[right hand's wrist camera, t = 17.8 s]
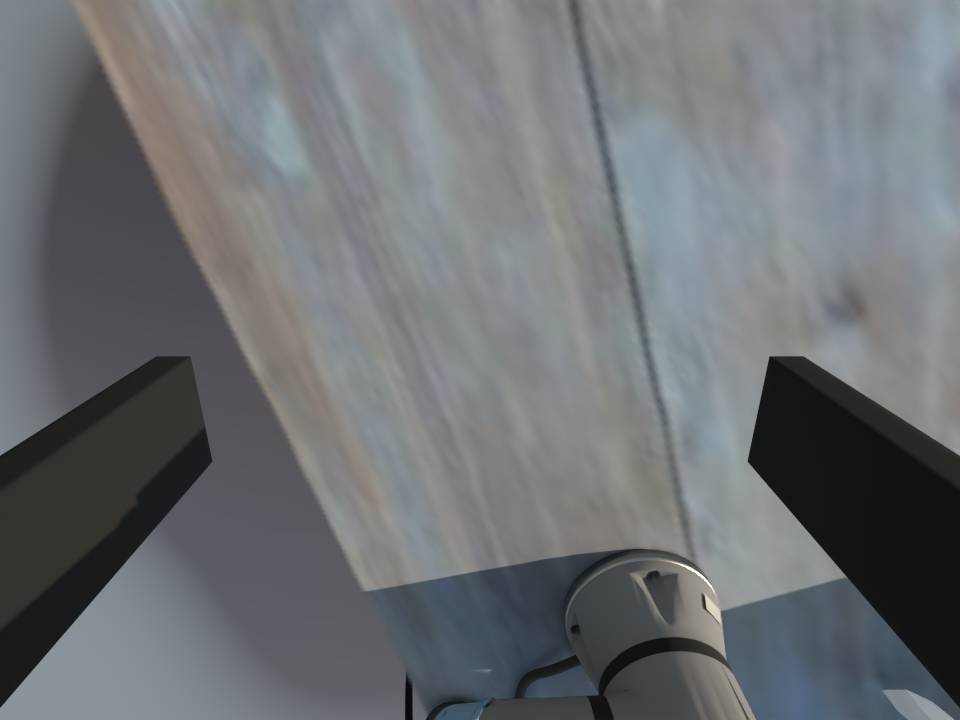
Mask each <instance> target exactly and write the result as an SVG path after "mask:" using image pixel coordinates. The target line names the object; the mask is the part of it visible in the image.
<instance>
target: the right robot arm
mask: <svg viewBox="0 0 960 720" xmlns="http://www.w3.org/2000/svg"><path fill="white" fill-rule="evenodd" d="M211 463H212V457H211V453H210V448H209V443H208V438H207V433H206V429H205V424H204V419H203V414H202V410H201V405H200V400H199V395H198V391H197V386H196V381H195V376H194V371H193V367H192V362H191V357H190V356H187V357H186V356H184V357H183V356H173V357H172V356H164V357H163V356H159V357H158V356H157V357H155V358H153V359H152V360H150V361H149V362H147V363H146V364H144V365H142V366H141V367H139V368H138V369H136V370H135V371H133V372H131V373H130V374H128V375H127V376H125V377H124V378H122V379H120V380H119V381H117V382H116V383H114V384H112V385H111V386H109V387H108V388H106V389H105V390H103V391H101V392H100V393H98V394H97V395H95V396H94V397H92V398H90V399H89V400H87V401H86V402H84V403H83V404H81V405H80V406H78V407H76V408H75V409H73V410H72V411H70V412H68V413H67V414H65V415H64V416H62V417H61V418H59V419H57V420H56V421H54V422H53V423H51V424H50V425H48V426H46V427H45V428H43V429H42V430H40V431H39V432H37V433H35V434H34V435H32V436H31V437H29V438H28V439H26V440H24V441H23V442H21V443H20V444H18V445H17V446H15V447H13V448H12V449H10V450H9V451H7V452H6V453H4V454H2V455H1V456H0V707H1V706H2V705H3V704H4V703H5V702H6V700H7V699H8V698H9V697H10V696H11V695H12V693H13V692H14V691H15V690H16V689H17V688H18V686H19V685H20V684H21V683H22V682H23V681H24V680H25V678H26V677H27V676H28V675H29V674H30V673H31V671H32V670H33V669H34V668H35V667H36V666H37V664H38V663H39V662H40V661H41V660H42V659H43V657H44V656H45V655H46V654H47V653H48V652H49V651H50V649H51V648H52V647H53V646H54V645H55V644H56V642H57V641H58V640H59V639H60V638H61V637H62V635H63V634H64V633H65V632H66V631H67V630H68V628H69V627H70V626H71V625H72V624H73V623H74V622H75V620H76V619H77V618H78V617H79V616H80V615H81V613H82V612H83V611H84V610H85V609H86V608H87V606H88V605H89V604H90V603H91V602H92V601H93V599H94V598H95V597H96V596H97V595H98V594H99V593H100V591H101V590H102V589H103V588H104V587H105V585H106V584H107V583H108V582H109V581H110V580H111V579H112V577H113V576H114V575H115V574H116V573H117V572H118V570H119V569H120V568H121V567H122V566H123V565H124V563H125V562H126V561H127V560H128V559H129V558H130V556H131V555H132V554H133V553H134V552H135V551H136V549H137V548H138V547H139V546H140V545H141V544H142V543H143V541H144V540H145V539H146V538H147V537H148V536H149V534H150V533H151V532H152V531H153V530H154V529H155V528H156V526H157V525H158V524H159V523H160V522H161V521H162V519H163V518H164V517H165V516H166V515H167V514H168V512H169V511H170V510H171V509H172V508H173V507H174V505H175V504H176V503H177V502H178V501H179V500H180V499H181V497H182V496H183V495H184V494H185V493H186V492H187V490H188V489H189V488H190V487H191V486H192V485H193V483H194V482H195V481H196V480H197V479H198V478H199V476H200V475H201V474H202V473H203V472H204V471H205V470H206V468H207V467H208V466H209V465H210V464H211ZM748 463H749V464H750V465H751V466H752V467H753V468H754V470H755V471H756V472H757V473H758V474H759V475H760V476H761V478H762V479H763V480H764V481H765V482H766V483H767V485H768V486H769V487H770V488H771V489H772V490H773V492H774V493H775V494H776V495H777V496H778V497H779V499H780V500H781V501H782V502H783V503H784V504H785V505H786V507H787V508H788V509H789V510H790V511H791V512H792V514H793V515H794V516H795V517H796V518H797V519H798V521H799V522H800V523H801V524H802V525H803V526H804V528H805V529H806V530H807V531H808V532H809V533H810V534H811V536H812V537H813V538H814V539H815V540H816V541H817V543H818V544H819V545H820V546H821V547H822V548H823V550H824V551H825V552H826V553H827V554H828V555H829V557H830V558H831V559H832V560H833V561H834V562H835V564H836V565H837V566H838V567H839V568H840V569H841V570H842V572H843V573H844V574H845V575H846V576H847V577H848V579H849V580H850V581H851V582H852V583H853V584H854V586H855V587H856V588H857V589H858V590H859V591H860V593H861V594H862V595H863V596H864V597H865V598H866V599H867V601H868V602H869V603H870V604H871V605H872V606H873V608H874V609H875V610H876V611H877V612H878V613H879V615H880V616H881V617H882V618H883V619H884V620H885V622H886V623H887V624H888V625H889V626H890V627H891V628H892V630H893V631H894V632H895V633H896V634H897V635H898V637H899V638H900V639H901V640H902V641H903V642H904V644H905V645H906V646H907V647H908V648H909V649H910V651H911V652H912V653H913V654H914V655H915V656H916V657H917V659H918V660H919V661H920V662H921V663H922V664H923V666H924V667H925V668H926V669H927V670H928V671H929V673H930V674H931V675H932V676H933V677H934V678H935V680H936V681H937V682H938V683H939V684H940V685H941V687H942V688H943V689H944V690H945V691H946V692H947V693H948V695H949V696H950V697H951V698H952V699H953V700H954V702H955V703H956V704H957V705H958V706H959V707H960V456H959V455H958V454H956V453H955V452H953V451H951V450H950V449H948V448H947V447H945V446H943V445H942V444H940V443H939V442H937V441H936V440H934V439H932V438H931V437H929V436H928V435H926V434H925V433H923V432H921V431H920V430H918V429H917V428H915V427H914V426H912V425H910V424H909V423H907V422H906V421H904V420H903V419H901V418H899V417H898V416H896V415H895V414H893V413H892V412H890V411H888V410H887V409H885V408H884V407H882V406H881V405H879V404H877V403H876V402H874V401H873V400H871V399H870V398H868V397H866V396H865V395H863V394H862V393H860V392H859V391H857V390H855V389H854V388H852V387H851V386H849V385H848V384H846V383H844V382H843V381H841V380H840V379H838V378H836V377H835V376H833V375H832V374H830V373H829V372H827V371H825V370H824V369H822V368H821V367H819V366H818V365H816V364H814V363H813V362H811V361H810V360H808V359H807V358H805V357H803V356H770V357H769V362H768V367H767V371H766V376H765V381H764V386H763V390H762V395H761V400H760V405H759V410H758V414H757V419H756V424H755V429H754V433H753V438H752V443H751V448H750V453H749V457H748ZM564 621H565V627H566V632H567V636H568V639H569V641H570V644H571V646H572V649H573V650H574V652H575V654H576V655H575V656H572V657H570V658H568V659H565V660H563V661H560V662H558V663H555V664H553V665H550V666H546V667H542V668H538V669H535V670H533V671H531V672H529V673H527V674H526V675H525V676H524V677H523V678H522V679H521V680H520V682H519V685H518V688H517V691H516V696H515V699H503V700H496V699H494V698H487V699H485V700H483V701H481V702H473V703H466V702H459V701H452V702H446V703H443V704H441V705H439V706H437V707H436V708H435V709H433V710H432V711H431V713H430V714H429V715H428V717H427V718H426V720H756V719H755V717H754V715H753V713H752V711H751V709H750V707H749V705H748V703H747V701H746V699H745V697H744V695H743V693H742V691H741V689H740V686H739V684H738V682H737V680H736V679H735V677H734V675H733V672H732V670H731V668H730V666H729V664H728V662H727V660H726V653H725V644H724V635H723V627H722V618H721V610H720V606H719V603H718V599H717V596H716V594H715V592H714V590H713V588H712V586H711V584H710V582H709V580H708V579H707V577H706V576H705V574H704V573H703V572H702V571H701V570H700V569H699V568H698V567H697V566H696V565H695V564H693V563H692V562H690V561H689V560H687V559H685V558H683V557H681V556H678V555H676V554H673V553H669V552H665V551H659V550H635V551H628V552H623V553H620V554H616V555H613V556H611V557H608V558H606V559H604V560H602V561H600V562H598V563H596V564H595V565H593V566H592V567H590V568H589V569H588V570H586V571H585V572H584V573H583V574H582V575H581V576H580V577H579V578H578V579H577V580H576V581H575V583H574V584H573V586H572V587H571V589H570V591H569V592H568V595H567V597H566V601H565V605H564ZM581 664H582V666H583V667H584V669H585V671H586V672H587V674H588V676H589V677H590V679H591V681H592V683H593V684H594V686H595V688H596V689H597V691H598V694H599V695H598V696H574V697H556V698H529V699H524V696H525V692H526V689H527V687H528V686H529V685H530V684H531V683H532V682H534V681H535V680H538V679H540V678H544V677H548V676H552V675H555V674H558V673H561V672H563V671H566V670H568V669H571V668H573V667H576V666H578V665H581ZM405 720H413V684H412V682H411V680H410V678H409V676H408V674H407V672H406V683H405Z"/></svg>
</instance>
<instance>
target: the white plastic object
mask: <svg viewBox="0 0 960 720" xmlns="http://www.w3.org/2000/svg"><path fill="white" fill-rule="evenodd" d="M882 691H883V692H884V694H885V695H886V696H887V697H888V699H889V700H890V701H891V703H892V704H893V705H894V707H895V708H896V709H897V711H898V712H899V713H901V714H902V715H903V716H904V717H905V718H907V719H908V720H954V719H953V718H952V717H950V716H949V715H948V714H947V713H945V712H944V711H943V710H942V709H940V708H939V707H938V706H937V705H935V704H934V703H933V702H931V701H929V700H927V699H925V698H923V697H921V696H919V695H917V694H914V693H912V692H910V691H908V690H882Z"/></svg>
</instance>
